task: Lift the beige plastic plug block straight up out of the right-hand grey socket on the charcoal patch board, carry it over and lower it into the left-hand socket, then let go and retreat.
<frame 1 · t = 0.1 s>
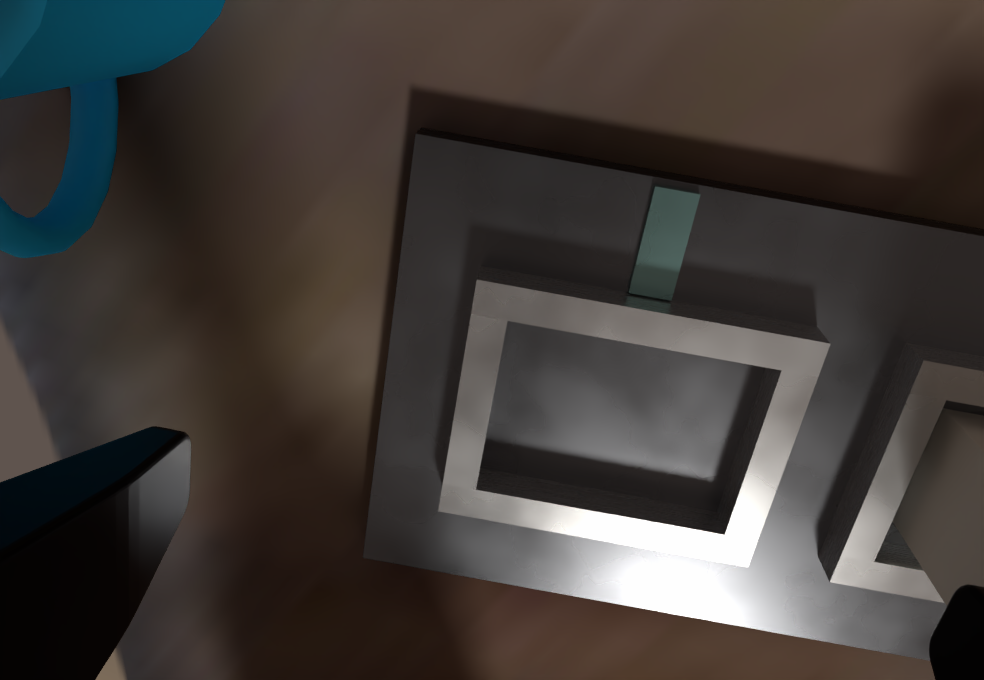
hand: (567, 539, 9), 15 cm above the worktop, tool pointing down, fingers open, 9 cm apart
patch board: (775, 426, 25), on the worktop
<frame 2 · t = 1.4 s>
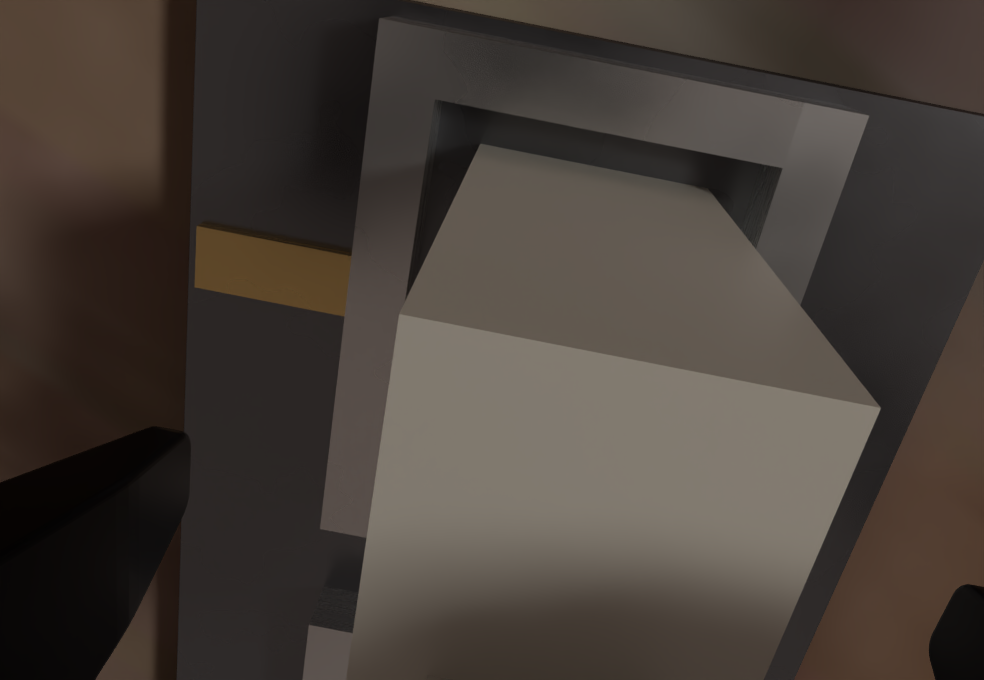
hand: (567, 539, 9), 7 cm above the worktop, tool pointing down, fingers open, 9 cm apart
patch board: (493, 579, 19), on the worktop
plug: (557, 323, 15), point 1 cm above the worktop, touching patch board
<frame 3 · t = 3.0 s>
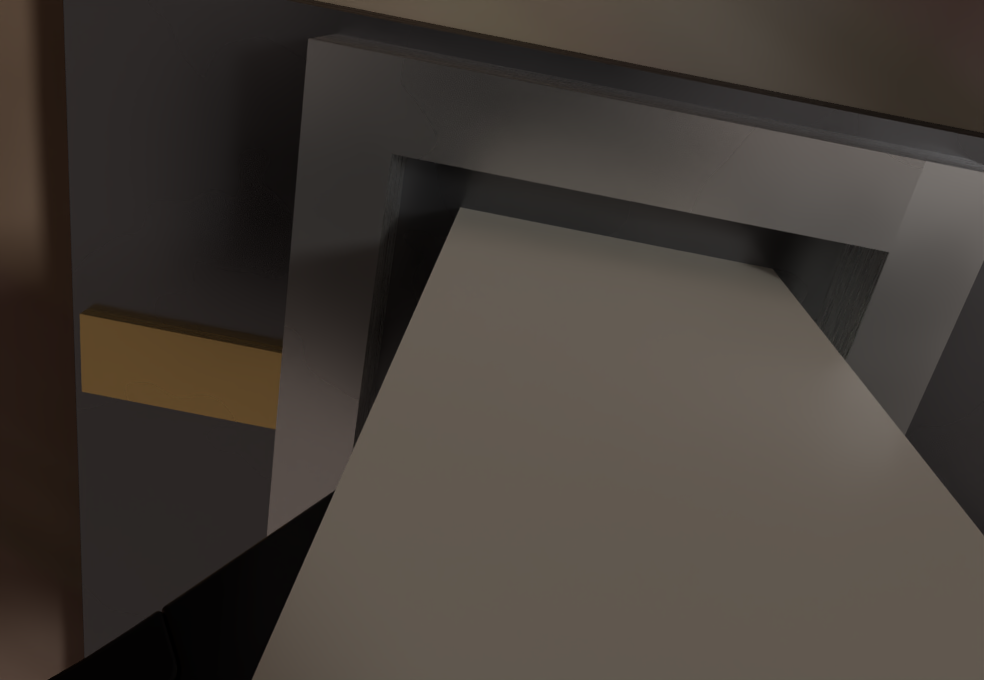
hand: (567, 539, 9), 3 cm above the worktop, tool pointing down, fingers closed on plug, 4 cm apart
plug: (565, 440, 11), point 1 cm above the worktop, touching gripper, patch board
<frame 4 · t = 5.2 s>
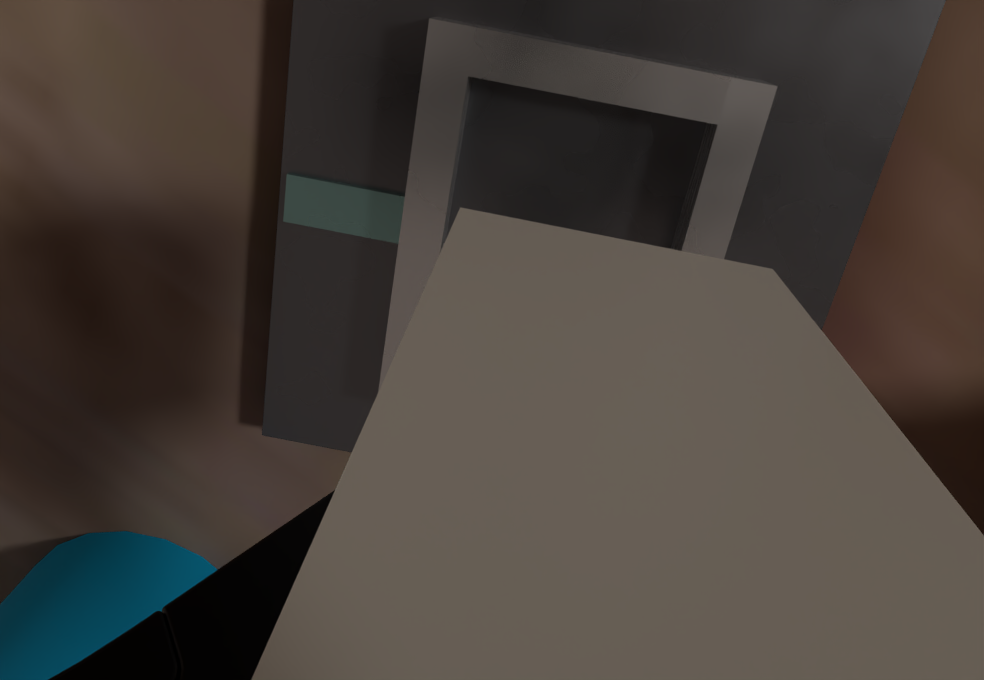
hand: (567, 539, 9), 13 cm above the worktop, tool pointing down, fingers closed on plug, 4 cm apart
patch board: (600, 34, 19), on the worktop
plug: (565, 441, 11), point 10 cm above the worktop, touching gripper
mug: (200, 629, 28), on the worktop
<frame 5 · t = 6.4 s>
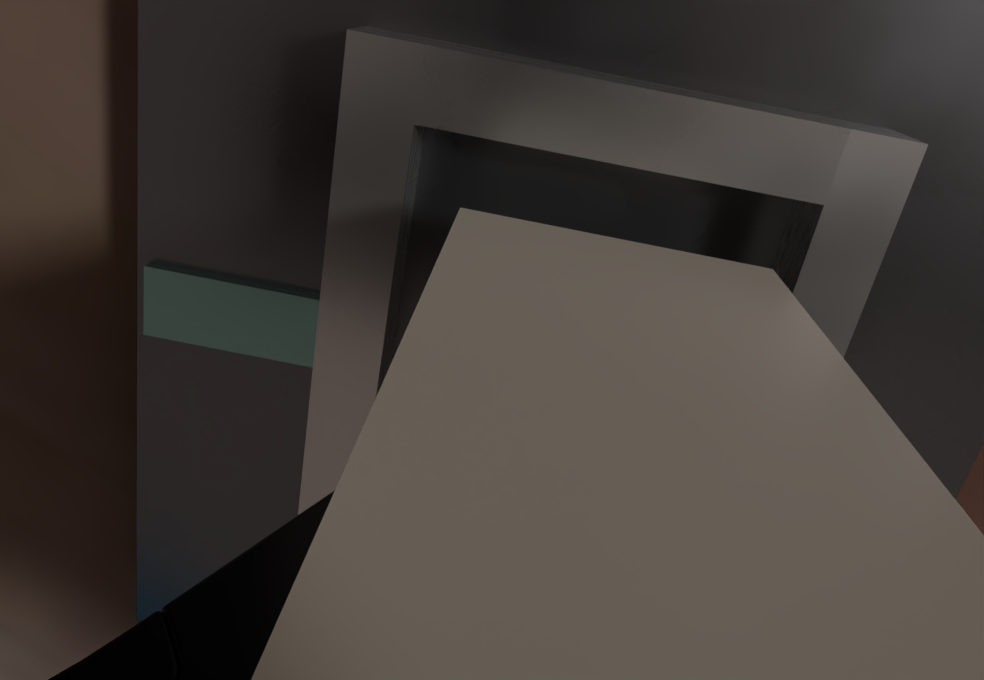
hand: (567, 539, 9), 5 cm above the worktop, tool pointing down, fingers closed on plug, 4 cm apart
patch board: (628, 54, 12), on the worktop
plug: (565, 441, 11), point 3 cm above the worktop, touching gripper
when the fingers open (4 cm above the worktop, at t = 7.4 s): plug stays where it is, resting on patch board.
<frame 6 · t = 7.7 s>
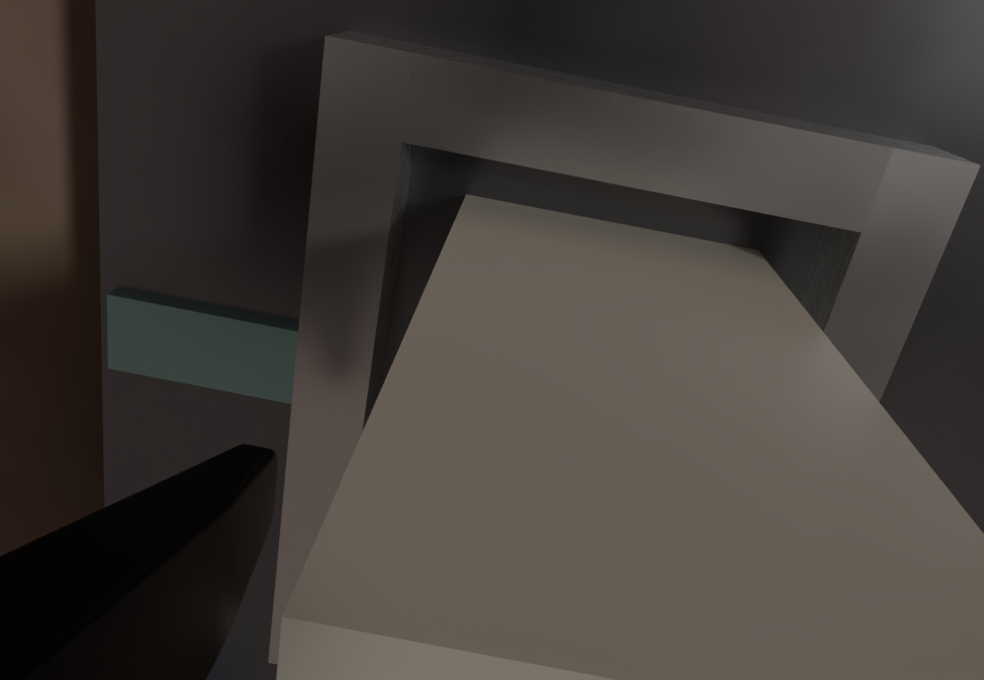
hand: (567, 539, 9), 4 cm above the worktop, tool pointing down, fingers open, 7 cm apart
patch board: (640, 62, 11), on the worktop
plug: (565, 414, 12), point 1 cm above the worktop, touching patch board
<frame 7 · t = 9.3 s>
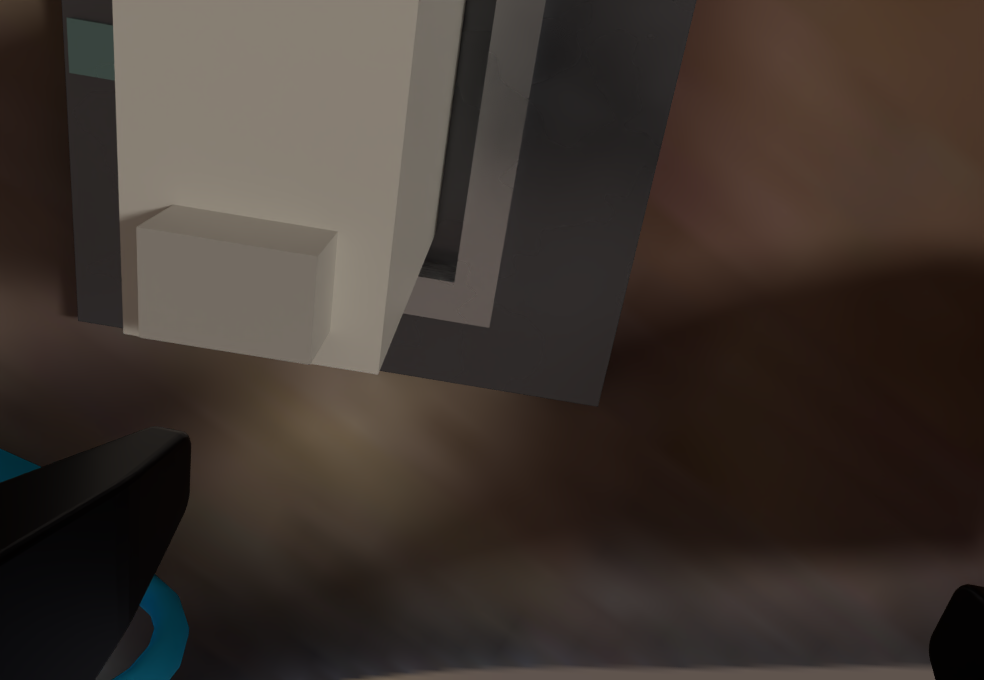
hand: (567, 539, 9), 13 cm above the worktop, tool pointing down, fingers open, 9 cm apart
plug: (366, 95, 19), point 1 cm above the worktop, touching patch board
mug: (50, 549, 26), on the worktop
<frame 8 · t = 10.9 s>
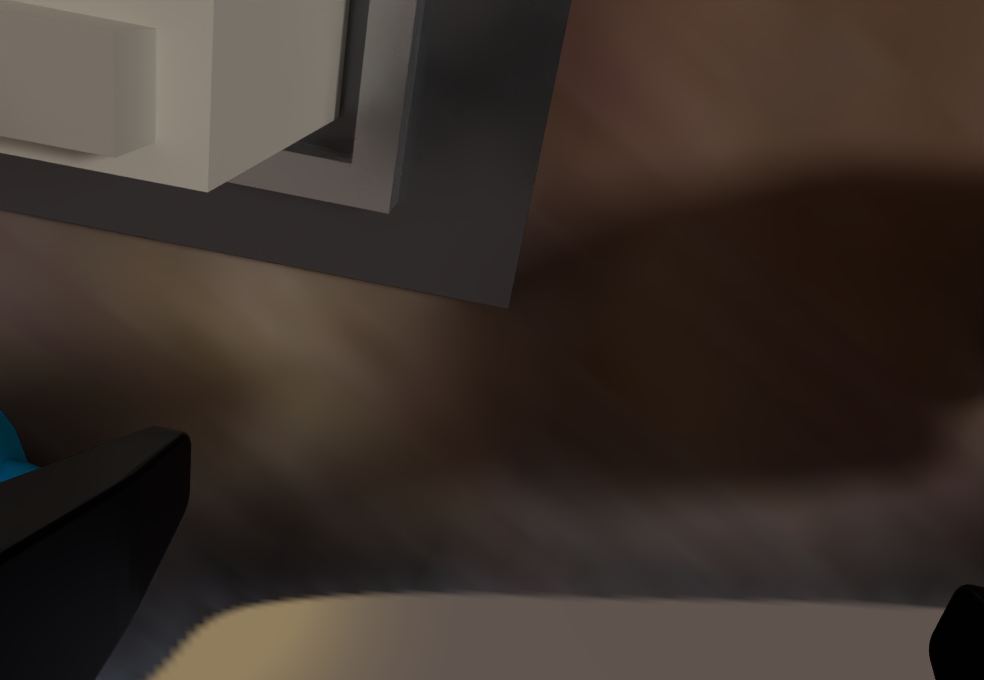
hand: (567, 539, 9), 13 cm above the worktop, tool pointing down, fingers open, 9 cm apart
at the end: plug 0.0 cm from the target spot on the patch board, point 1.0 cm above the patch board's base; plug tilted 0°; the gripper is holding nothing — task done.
